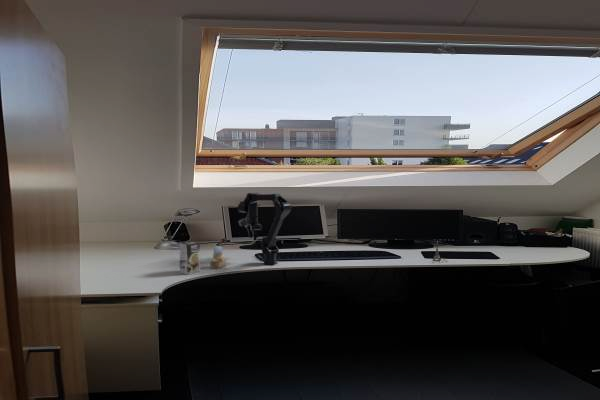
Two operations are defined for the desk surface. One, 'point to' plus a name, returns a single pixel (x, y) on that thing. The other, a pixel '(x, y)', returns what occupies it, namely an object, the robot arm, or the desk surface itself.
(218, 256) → the top block
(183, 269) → the coffee box
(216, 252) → the cylinder
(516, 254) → the desk surface
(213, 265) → the base block
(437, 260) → the eiffel tower figurine
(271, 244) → the robot arm
